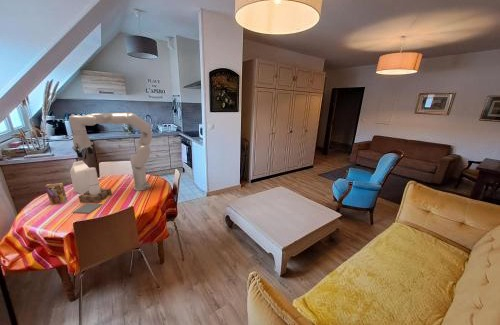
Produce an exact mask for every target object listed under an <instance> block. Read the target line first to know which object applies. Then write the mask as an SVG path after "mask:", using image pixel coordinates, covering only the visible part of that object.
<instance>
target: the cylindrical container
mask: <svg viewBox="0 0 500 325" xmlns="http://www.w3.org/2000/svg"><path fill="white" fill-rule="evenodd" d="M84 173H85V177H86V181H87V185H88V189H89V193H90V195H98V194H99V193H101V190H100V188H101V186H100V182H99V181H100V180H99V178H98V172H97V169H96V167H89V168H86V169H84Z"/></svg>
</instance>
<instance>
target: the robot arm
mask: <svg viewBox="0 0 500 325" xmlns="http://www.w3.org/2000/svg"><path fill="white" fill-rule="evenodd" d="M68 120H69V124H70V127H71V130H72V131H71V132H72V143H73V146H72V147H71V149H72V150H73V151H74V152H75V153H76V156H77V158H79V159H80V158H83V152H82V150H84V149H87V152H88V154H89V155H93V154H94V150H93V147H94V142H93V141H91V140H90V136H89V135H88V133H87V129H86V126H91V127H92V126H95V125H96V124H98V125H99V124H109V125H124V124H125V125H128V124H129V125H131V126H132V127H134V128H135V129H137V130H139V131H140V138H139V139H138V143H137V144H136V147H135V150H136V153H134V154H132V155H131V156H130V160H129V161H130V164H131V168H132V169H131V170H132V175H133V176H132V177H133V183H134V187H132V189H133V190H134V191H137V192H139V191H140V192H141V191H145V190H148V189H149V188H152V184H151V183H149V182H148V181H147V176H146V175H147V174H146V169H145V165H146V164H147V162H148V159H149V158H150V154H151V147H150V144H151V142H152V139H153V132H152V126H151V124H150V123H148V122H147V121H145V120H144V119H142V118H141V117H140V116H138V115H137V114H135V113H134V112H109V113H108V112H107V113H87V114H85V115H80V114H76V115H69V117H68Z"/></svg>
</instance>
